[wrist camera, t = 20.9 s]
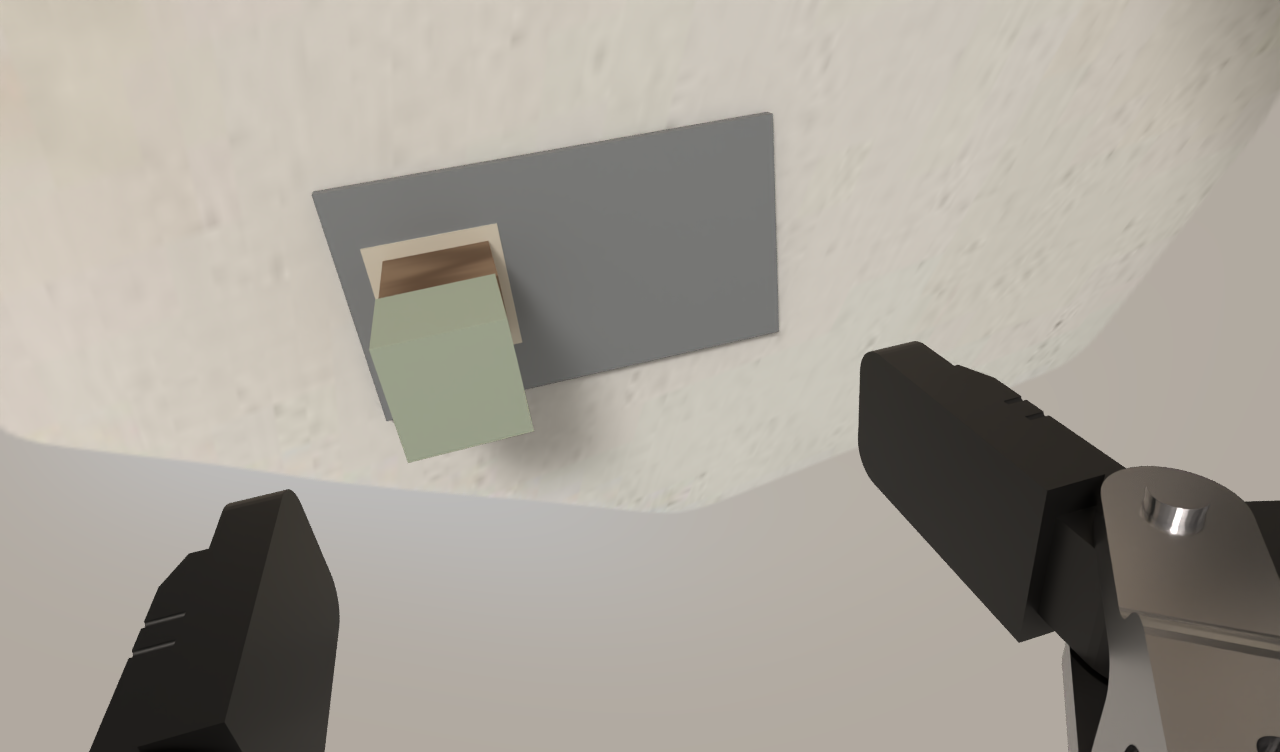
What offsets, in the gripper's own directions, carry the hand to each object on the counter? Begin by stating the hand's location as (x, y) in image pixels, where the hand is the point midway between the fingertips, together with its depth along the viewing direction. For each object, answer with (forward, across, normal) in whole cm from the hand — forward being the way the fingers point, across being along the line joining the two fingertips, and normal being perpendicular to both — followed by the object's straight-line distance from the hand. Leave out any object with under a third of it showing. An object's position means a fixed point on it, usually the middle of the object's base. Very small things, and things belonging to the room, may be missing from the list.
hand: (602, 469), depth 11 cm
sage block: (+22, +3, +7) cm, 24 cm away
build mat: (+28, -4, +8) cm, 29 cm away
